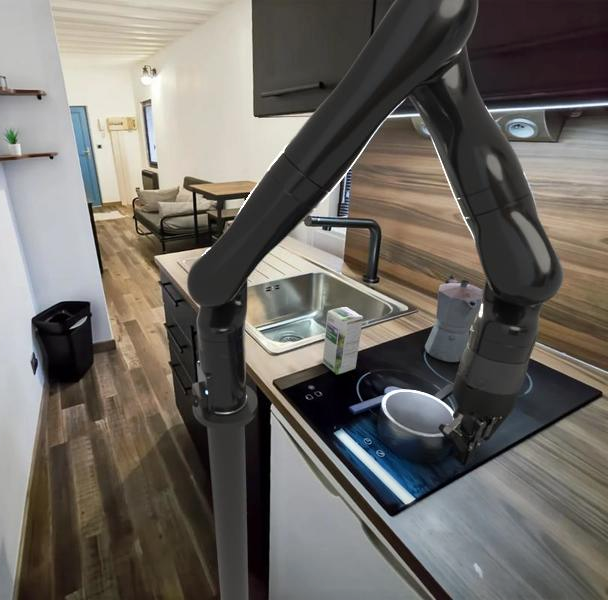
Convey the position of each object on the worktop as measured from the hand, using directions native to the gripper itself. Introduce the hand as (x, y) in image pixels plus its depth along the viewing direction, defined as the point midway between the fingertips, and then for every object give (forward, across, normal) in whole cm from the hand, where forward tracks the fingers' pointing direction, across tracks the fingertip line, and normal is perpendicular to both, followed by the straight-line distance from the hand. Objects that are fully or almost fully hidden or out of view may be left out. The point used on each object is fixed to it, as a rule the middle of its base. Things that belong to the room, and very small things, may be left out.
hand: (461, 460), depth 60 cm
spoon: (+2, 0, -18) cm, 18 cm away
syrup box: (+2, -1, -32) cm, 32 cm away
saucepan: (+2, -2, -9) cm, 9 cm away
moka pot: (+2, -28, -26) cm, 38 cm away
